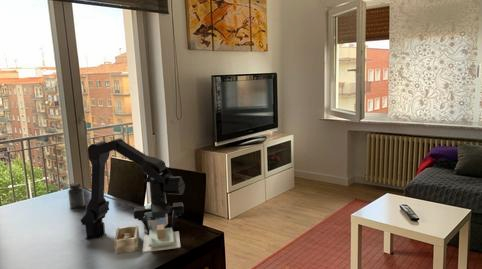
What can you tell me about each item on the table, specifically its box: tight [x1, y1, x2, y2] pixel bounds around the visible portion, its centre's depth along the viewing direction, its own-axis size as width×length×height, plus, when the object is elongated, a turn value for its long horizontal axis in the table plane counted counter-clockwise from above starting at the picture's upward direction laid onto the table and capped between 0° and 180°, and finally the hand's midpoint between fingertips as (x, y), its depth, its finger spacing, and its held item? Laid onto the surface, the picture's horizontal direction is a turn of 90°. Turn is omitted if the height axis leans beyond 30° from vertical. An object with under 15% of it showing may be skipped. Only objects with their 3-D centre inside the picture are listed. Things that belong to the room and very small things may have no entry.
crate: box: [113, 224, 140, 254], centre depth 143 cm, size 8×12×5 cm, turn 12°
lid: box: [148, 224, 174, 247], centre depth 144 cm, size 9×13×6 cm
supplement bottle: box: [67, 182, 85, 210], centre depth 186 cm, size 7×7×12 cm
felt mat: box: [142, 230, 182, 253], centre depth 145 cm, size 14×14×1 cm
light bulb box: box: [143, 200, 169, 234], centre depth 157 cm, size 11×7×11 cm, turn 168°
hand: (160, 231), depth 144 cm, fingers open, 9 cm apart
